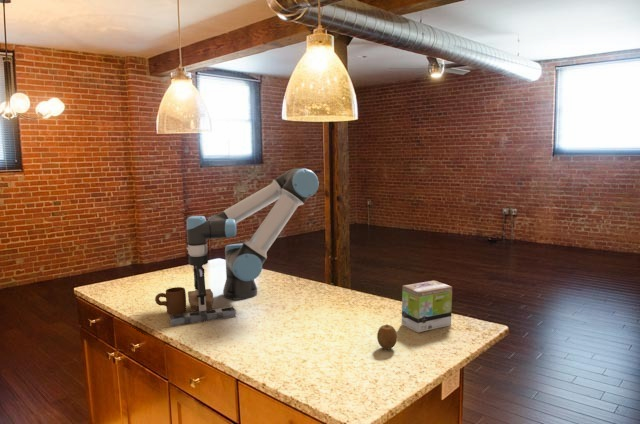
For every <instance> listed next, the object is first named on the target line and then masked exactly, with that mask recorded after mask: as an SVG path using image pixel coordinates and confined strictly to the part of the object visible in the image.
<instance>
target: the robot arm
mask: <svg viewBox="0 0 640 424" xmlns="http://www.w3.org/2000/svg"><path fill="white" fill-rule="evenodd" d="M319 183H320V182H319V178H318V176H317V175H316V173H315V172H314V171H312V170H311V169H309V168H297V167H295V168H291V169H289V170H287V171H285V172H284V173H283V174H280V175H279V176H278V177H276V178H274V179H273V180H272V182H271V183H270V184H269V185H267V186H265V187H264V188H261V189H260V190H258V191H257V192H254V193H253V194H250V195H249V196H247V197H245V198H243V199H242V200H240V201H239V202H237V203H235V204H233V205H231V206H230V207H228V208H226V209H225V210H223V211H221V212H220V213H217V214H213V215H210V217H208V220H207V219H206V217H205V216H204V215H191V216H189V217H187V218H186V238H187V241H186V242H187V246H186V250H187V251H188V252H187V253H188V256H187V257H188V265H190V266H192V267H193V268H192V270H193V277H194V279H193V283H194V285H193V286H194V289H195V290H194V291H197V290H198V293H199V295H198V296H197V297H198V301H199V305H197V306H198V311H205V310H207V309H206V298H205V296H206V289H207V288H206V280H205V278H206V277H205V268H204V267H203V266H204V265H208V264H209V258H208V240H211V239H212V240H213V239H226V238H227V239H229V238H234V237H236V235H237V224H238V223H240V222H241V221H243V220H245V219H246V218H248V217H250V216H252V215H253V214H255V213H257V212H258V211H261V210H262V209H264V208H266V207H268V206H269V205H271V204H272V203H274V202H275V203H274V205H273V206H272V208H271V210H270V211H269V212H268V214H267V215H266V217H265V218H264V220H263V221H262V222H261V224H260V225H259V227H258V228H257V229H256V231H255V232H254V234H253V235H252V236H251V238H250V239H249V240H248V241H244V242H243V243H231V244H227V245H226V246H225V247H224V248H225V249H224V254H225V275H226V279H225V284H224V285H223V291H222V295H223V297H224V298H226V299H228V300H229V299H231V300H244V299H250V298H252V297H255V296H257V294H258V287H257V284H256V282H255V279H257V278H258V277H259V276H260V274H261V273H262V270H263V264H264V263H265V261H266V260H267V258H268V256H267V252H268V251H269V250H270V248H271V246H272V245H273V244H274V242H275V241H276V239H277V238H278V236H279V235H280V233H281V232H282V231H283V229H284V228H285V226H286V225H287V223H288V221H290V219H291V217H292V216H293V214H294V213H295V212H296V211H297V209H298V207H299V206H302V205H303V206H304V204H305V203H306V202H307V201H308V199H309V198H310V197H312V196H314V195H315V194H316V193H317V191H318V189H319V185H320V184H319Z"/></svg>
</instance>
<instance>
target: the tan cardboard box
mask: <svg viewBox="0 0 640 424" xmlns="http://www.w3.org/2000/svg"><path fill="white" fill-rule="evenodd" d="M205 289H206V296H205V298H206V310H212V309H213V306H212V305H213V304H214V293H213V291H212V290H211V288H205ZM198 295H199V293H198V290H197V291H195V290H190V291H187V296H188V297H187V298H188V299H187V300H188V303H189V306H190V312H198V311H197V310H198V307H197V305H198V306H199V301H198V297H197V296H198Z"/></svg>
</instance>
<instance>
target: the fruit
mask: <svg viewBox="0 0 640 424" xmlns="http://www.w3.org/2000/svg"><path fill="white" fill-rule="evenodd" d="M376 334H377V336H376V338H377V339H376V340H377V342H378V344H379V346H380V347H381V348H383V349H385V350H389V349H393V347H395V345H396V343H397V341H398V337H397V336H398V335H397V331H396V329H395V328H394V326H392V325H391V324H384V325H381V326H380V327H379V328H378V330H377V333H376Z"/></svg>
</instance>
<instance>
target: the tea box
mask: <svg viewBox="0 0 640 424" xmlns="http://www.w3.org/2000/svg"><path fill="white" fill-rule="evenodd" d="M401 289H402V291H401V293H402V295H401V296H402V297H401V325H403V326H404V327H406V328H408V329H410V330H411V331H414V332H416V333H419V334H420V333H422V332H425V331H426V332H427V331H430V330H435V329H440V328H446V327H450V326H451V325H452V314H453V313H452V310H453V309H452V308H453V307H452V304H453V303H452V302H453V286H451V285H448V284H447V283H443V282H439V281H438V280H428V281H424V282H417V283H412V284H404V285H402V288H401Z"/></svg>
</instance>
